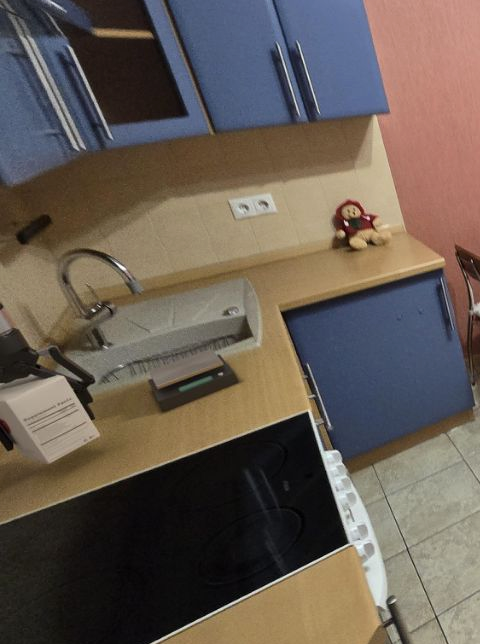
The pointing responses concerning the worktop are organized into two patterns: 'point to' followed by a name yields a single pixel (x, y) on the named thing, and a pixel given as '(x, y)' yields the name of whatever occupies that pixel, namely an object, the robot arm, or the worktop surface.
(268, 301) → the worktop surface
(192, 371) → the scale pan
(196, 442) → the worktop surface
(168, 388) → the scale base
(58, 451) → the rectangular carton
